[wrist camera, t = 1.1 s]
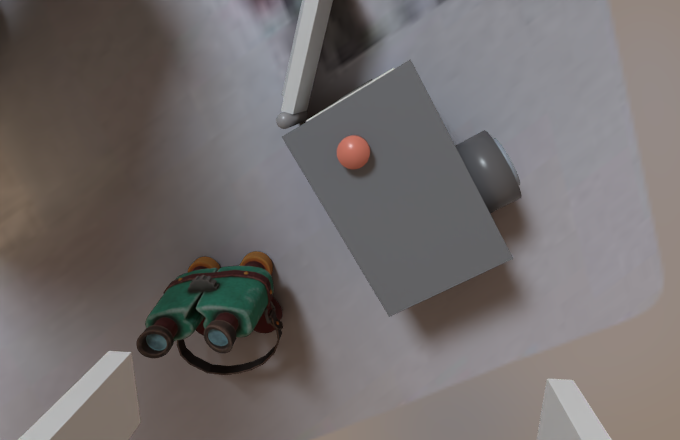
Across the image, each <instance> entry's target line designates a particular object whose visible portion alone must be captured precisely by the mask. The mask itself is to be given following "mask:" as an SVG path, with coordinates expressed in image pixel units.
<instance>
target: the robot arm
mask: <svg viewBox="0 0 680 440" xmlns="http://www.w3.org/2000/svg"><path fill="white" fill-rule="evenodd" d="M140 423H141V420H140V413H139V405H138V398H137V390H136V383H135V375H134V368H133V360H132V353H131V352H119V351H108V352H107V353H106V354H105V355H104V356H103V357H102V358H101V359H100V360H99V361H98V362H97V363H96V364H95V365H94V366H93V367H92V368H91V369H90V370H89V371H88V372H87V373H86V374H85V375H84V376H83V377H82V378H81V379H80V380H79V381H78V382H77V383H76V384H75V385H73V386H72V387H71V388H70V389H69V390H68V391H67V392H66V393H65V394H64V395H63V396H62V397H61V398H60V399H59V400H58V401H57V402H56V403H55V404H54V405H53V406H52V407H51V408H50V409H49V410H48V411H47V412H46V413H45V414H44V415H43V416H42V417H41V418H40V419H39V420H38V421H37V422H36V423H35V424H34V425H33V426H32V427H31V428H29V429H28V430H27V431H26V432H25V433H24V434H23V435H22V436H21V437H20V438H19V439H18V440H129V438H130V437H131V436H132V434H133V433H134V431H135V430H136V429H137V427H138V426H139V424H140ZM537 440H612V439H611V438H610V436H609V435H608V433H607V432H606V430H605V429H604V427H603V425H602V424H601V423H600V421H599V419H598V418H597V416H596V415H595V413H594V412H593V410H592V409H591V407H590V405H589V404H588V402H587V401H586V399H585V398H584V396H583V395H582V393H581V392H580V390H579V388H578V387H577V385H576V384H575V382H574V381H573V380H562V379H547V382H546V387H545V394H544V399H543V405H542V411H541V418H540V424H539V430H538V436H537Z"/></svg>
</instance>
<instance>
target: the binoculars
mask: <svg viewBox="0 0 680 440" xmlns="http://www.w3.org/2000/svg"><path fill="white" fill-rule="evenodd" d="M272 271H273V264H272V261H271V259H270V258H269V257H268V256H267V255H266V254H264V253H262V252H257V251H255V252H251V253H249V254H247V255H246V256H245V257H244V259H243V260H242V262H241V264H240V266H228V267H222V268H220V266H219V264H218V263H217V262H216V261H215V260H214V259H212V258H210V257H200V258H198V259H196V260H195V261H194V263H193V264H192V265H191V266H190V267H189V269H188V272H187V273H185V274H183V275H181V276H179V277H177V278H176V279H175V281H173V282H172V283H170V285H169V286H168V287H167V288H166V290H165V291H164V295H163V296H162V298H161V299H160V300H159V302H158V303H157V305H156V306H155V307H154V309H153V310H152V311H151V313H150V314H149V316H148V318H147V319H146V323H145V325H146V330H145V331H144V332H143V333H142V334H141V335H140V336H139V338H138V340H137V349H138V351H139V352H140V353H141V354H142V355H144V356H146V357H149V358H159V357H162V356H164V355H166V354H167V353H168V352H169V350H170V349H171V347H172V345H173V342H174V341H177V347H178V350H179V353H180V356H182V357H183V358H184V359H185V360H186V361H187V362H188V363H189V364H190V365H192V366H194V367H196V368H198V369H200V370H202V371H204V372H206V373H211V374H219V375H230V374H237V373H242V372H246V371H249V370H252V369H254V368H256V367H259V366H261V365H263V364H264V363H265V362H266V361H267V360H268V359H269V358H270V357H271V356H272V355H273V354H274V353H275V351H276V348H277V345H278V343H279V340H280V337H281V334H282V331H281V329H282V328H283V325H282V322H281V321H280V320H281V318H282V309H281V306H280V305H279V303H278V302H277V301H276V300H275V299H274V298H273V297H272V294H273V291H274V289H273V281H272V277H271V275H272ZM195 330H196V331H197V332H198V333H200V334H202V335H204V338H205V341H206V342H207V344H208V345H209V346H210V347H211V348H212V349H213V350H215V351H217V352H219V353H228V352H229V351H230V350H231V348H232V346H233V344H234V342H235V339H236V337H246V336H248V335H250V334H251V332H252V331H253V330H254V331H256V332H260V333H269V332H272V331H274V330H276V332H277V337H278V341H277V344H276V345H275V346H274V347H273V348H272V349H271V350H270V351H269V352H268V353H267V354H266V355H265V356H263V357H261V358H259V359H257V360H255V361H253V362H249V363H245V364H241V365H234V366H222V365H213V364H210V363H208V362H206V361H204V360H202V359H200V358H198V357H196V356H194V355H193V354H192V353H191V352H190V351H189V350H188V349H187V348H186V345H185V342H184V339H185V338H187V337H189V336H190V335H191V334H192V333H193V332H194V331H195Z"/></svg>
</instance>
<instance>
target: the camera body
mask: <svg viewBox="0 0 680 440" xmlns="http://www.w3.org/2000/svg"><path fill="white" fill-rule="evenodd" d="M282 138H283V140H284V142H285V143H286V145H287V147H288V148H289V150H290V152H291V153H292V155H293V157H294V158H295V160H296V162H297V163H298V165H299V167H300V168H301V170H302V172H303V173H304V175H305V177H306V178H307V180H308V182H309V183H310V185H311V187H312V189H313V190H314V192H315V194H316V195H317V197H318V199H319V200H320V202H321V204H322V205H323V207H324V209H325V210H326V212H327V214H328V215H329V217H330V219H331V220H332V222H333V224H334V225H335V227H336V229H337V230H338V232H339V234H340V235H341V237H342V239H343V240H344V242H345V244H346V245H347V247H348V249H349V250H350V252H351V254H352V255H353V257H354V259H355V260H356V262H357V264H358V265H359V267H360V269H361V270H362V272H363V274H364V275H365V277H366V279H367V280H368V282H369V284H370V285H371V287H372V289H373V290H374V292H375V294H376V295H377V297H378V299H379V301H380V302H381V304H382V306H383V307H384V309H385V311H386V312H387V314H388V316H389V317H390V316H392V315H394V314H396V313H398V312H401V311H403V310H405V309H407V308H409V307H411V306H413V305H415V304H418V303H420V302H422V301H424V300H426V299H428V298H430V297H433V296H435V295H437V294H439V293H441V292H443V291H445V290H447V289H450V288H452V287H454V286H456V285H458V284H460V283H462V282H465V281H467V280H469V279H471V278H473V277H475V276H477V275H479V274H482V273H484V272H486V271H488V270H490V269H492V268H494V267H497V266H499V265H501V264H503V263H505V262H507V261H509V260H511V259H513V257H512V255H511V253H510V251H509V249H508V247H507V245H506V243H505V242H504V240H503V238H502V236H501V234H500V232H499V230H498V228H497V226H496V224H495V222H494V220H493V218H492V216H491V214H490V213H491V212H493V211H495V210H497V209H499V208H501V207H503V206H505V205H507V204H509V203H511V202H514V201H516V200H518V199H520V198H521V192H520V188H519V185H520V180H519V177H518V174H517V172H516V170H515V168H514V166H513V164H512V162H511V160H510V158H509V156H508V155H507V153H506V151H505V150H504V148H503V147H502V145H501V144H500V143H499V142H498V140H497V139H495V138H494V139H493V138H492V137H491V136H490V135H489V134H488V132H486V131H485V130H484V131H482V132H480V133H478V134H477V135H475V136H473V137H471V138H469V139H467V140H465V141H464V142H462V143H460V144H458V145H456V146H455V145H454V143H453V141H452V139H451V137H450V135H449V133H448V131H447V129H446V127H445V125H444V123H443V122H442V120H441V118H440V116H439V114H438V112H437V110H436V108H435V106H434V104H433V102H432V100H431V98H430V96H429V94H428V92H427V91H426V89H425V87H424V85H423V83H422V81H421V79H420V77H419V75H418V73H417V71H416V69H415V67H414V65H413V63H412V62H411V60H409V61H407V62H406V63H404V64H402V65H401V66H399V67H397V68H396V69H394V68H392V69H391V70H389V71H387V72H386V73H384V74H382V75H381V76H379V77H377V78H376V79H374V80H372V79H371V80H370V81H368V82H366V83H365V84H363V85H361V86H360V87H358V88H356V89H355V90H353V91H351V92H350V93H348V94H346V95H345V96H343V97H341V98H340V99H339V100H338V101H336V102H334V103H333V104H331V105H329V106H328V107H326V108H324V110H323V111H321V112H319V113H318V114H316V115H314V116H313V117H311V118H309V119H308V120H306V123H304V124H302V125H301V126H299V127H297V128H296V129H294V130H292V131H291V132H289V133H287V134H286V135H284V136H282Z"/></svg>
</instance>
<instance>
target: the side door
mask: <svg viewBox="0 0 680 440" xmlns="http://www.w3.org/2000/svg"><path fill="white" fill-rule="evenodd" d="M332 2H333V0H302V4H301V9H300V13H299V18H298V23H297V27H296V32H295V36H294V41H293V46H292V50H291V55H290V59H289V64H288V69H287V73H286V78H285V83H284V87H283V92H282V96H284V100H283V104H282V109H281V111H283V112H284V113H280V114H279V115H278V116H277V118H276V122H277V125H278V126H279V127H280V128H282V129H286V128H289V127H291V126H294V125H296V124H299V123H301V122H304V121H305V120H306V119H307V112H306V110H307V109H308V105H309V100H310V96H311V92H312V88H313V83H314V79H315V75H316V71H317V66H318V62H319V58H320V54H321V49H322V45H323V41H324V37H325V32H326V28H327V24H328V19H329V15H330V11H331V7H332Z"/></svg>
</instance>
